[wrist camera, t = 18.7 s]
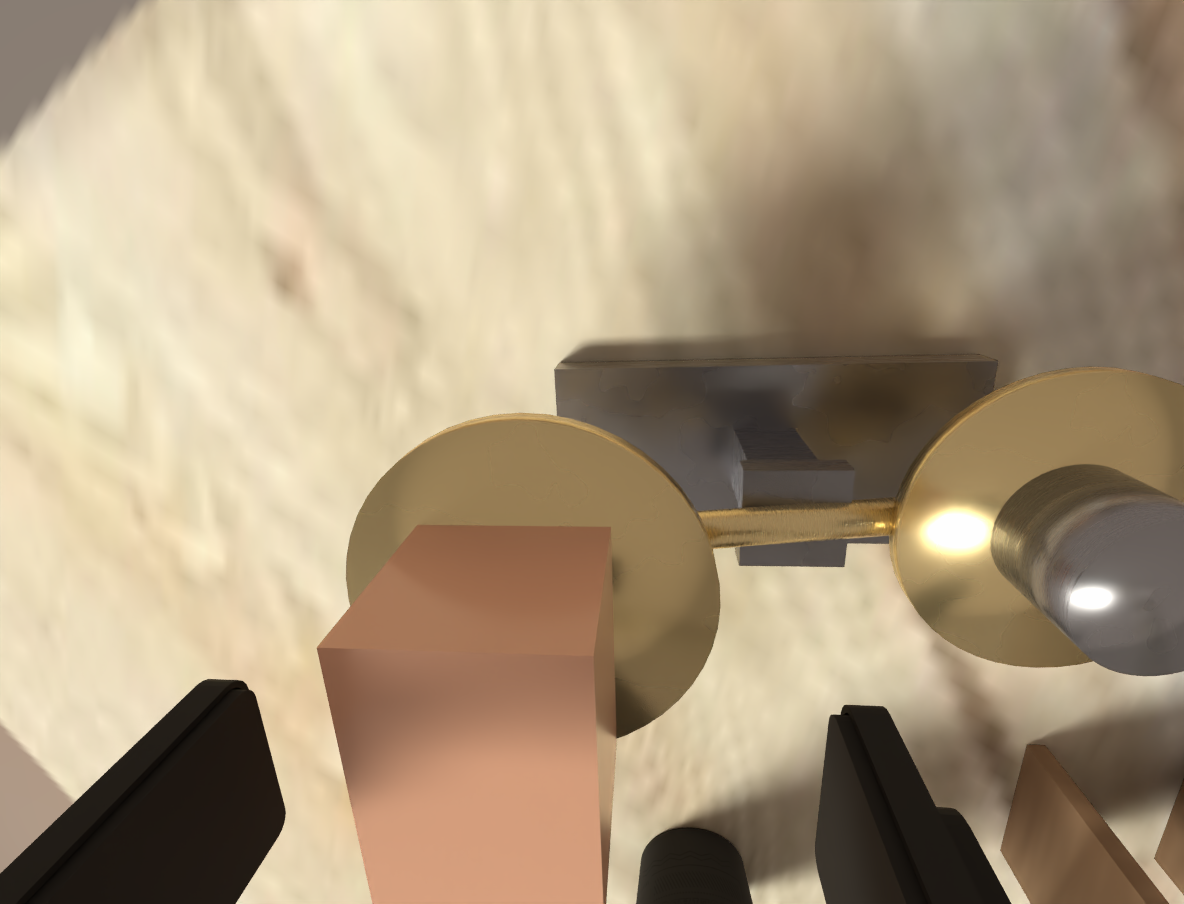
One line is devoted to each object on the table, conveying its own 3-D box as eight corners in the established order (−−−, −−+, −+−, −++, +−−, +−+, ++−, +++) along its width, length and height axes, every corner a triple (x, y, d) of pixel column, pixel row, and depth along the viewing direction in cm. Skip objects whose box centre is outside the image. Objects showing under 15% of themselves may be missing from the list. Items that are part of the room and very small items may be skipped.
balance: (1094, 327, 19) (1523, 410, 10) (1043, 549, 22) (1342, 784, 12) (463, 342, 21) (314, 423, 12) (484, 543, 24) (377, 742, 15)
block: (593, 655, 8) (604, 930, 10) (611, 526, 12) (616, 742, 14) (317, 647, 9) (375, 912, 10) (417, 524, 12) (447, 735, 14)
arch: (1213, 751, 24) (1458, 974, 17) (1171, 859, 26) (1374, 1100, 19) (1027, 744, 25) (1184, 955, 18) (1000, 850, 27) (1132, 1079, 20)
